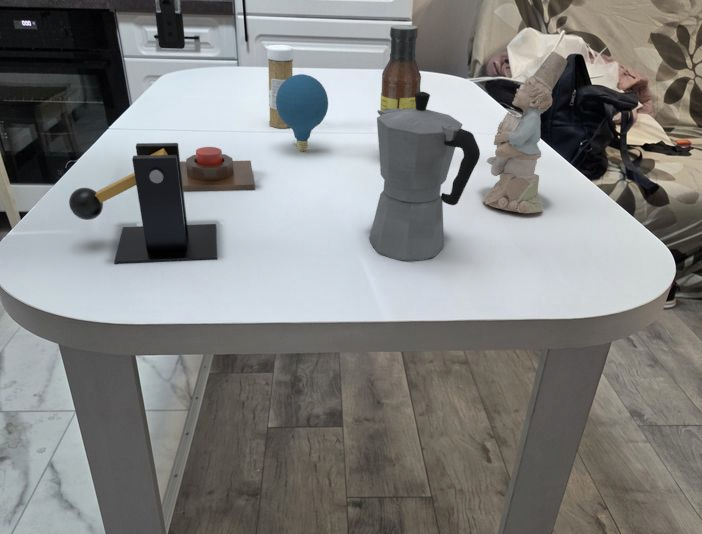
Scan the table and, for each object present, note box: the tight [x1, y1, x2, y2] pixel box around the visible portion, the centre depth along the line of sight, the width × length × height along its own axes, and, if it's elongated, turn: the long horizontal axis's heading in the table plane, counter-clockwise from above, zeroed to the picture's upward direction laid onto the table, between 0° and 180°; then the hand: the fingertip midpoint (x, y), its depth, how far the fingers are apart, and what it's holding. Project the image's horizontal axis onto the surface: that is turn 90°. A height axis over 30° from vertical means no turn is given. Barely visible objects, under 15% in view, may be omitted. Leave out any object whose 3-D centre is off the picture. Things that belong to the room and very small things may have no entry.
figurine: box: [482, 51, 568, 214], centre depth 83 cm, size 9×8×20 cm
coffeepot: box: [368, 91, 481, 262], centre depth 71 cm, size 15×9×18 cm, turn 39°
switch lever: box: [68, 148, 168, 221], centre depth 67 cm, size 12×3×3 cm, turn 101°
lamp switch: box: [113, 142, 218, 265], centre depth 69 cm, size 11×9×12 cm
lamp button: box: [195, 146, 223, 166], centre depth 88 cm, size 4×4×2 cm
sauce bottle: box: [379, 24, 422, 110], centre depth 97 cm, size 6×6×20 cm
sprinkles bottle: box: [266, 44, 294, 129], centre depth 112 cm, size 5×5×13 cm
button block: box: [180, 153, 256, 193], centre depth 89 cm, size 12×10×4 cm
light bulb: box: [276, 73, 329, 152], centre depth 101 cm, size 8×8×12 cm
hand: (172, 46), depth 80 cm, fingers closed
